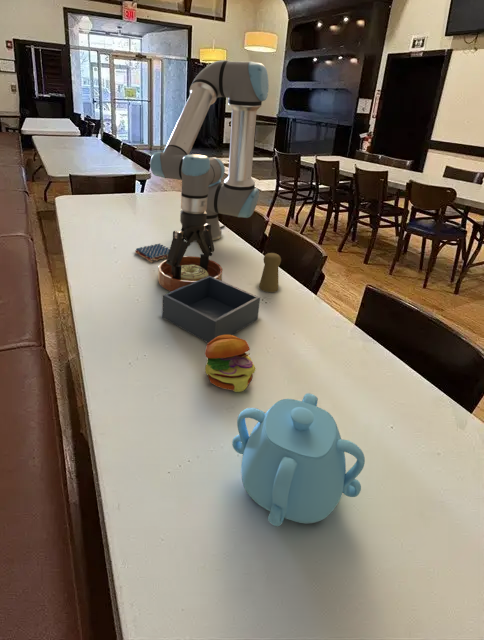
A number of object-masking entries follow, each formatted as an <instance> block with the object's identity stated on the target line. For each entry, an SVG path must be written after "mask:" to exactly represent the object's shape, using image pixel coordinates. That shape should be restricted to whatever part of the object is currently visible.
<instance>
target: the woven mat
mask: <svg viewBox="0 0 484 640" xmlns="http://www.w3.org/2000/svg"><path fill="white" fill-rule="evenodd" d="M169 250H170V248H169V247H166V246H165V245H164V244H161V243H155V244H151V245H144V246H143V247H142V246H140V247H137V248H135V250H134V252H135V254H137V255H139V256H140V257H142V259H145V260H147V261H148V262H150V263H151V264H152V263H153V261H156V262H159V260H163V259H164V260H167V257H168V253H169Z"/></svg>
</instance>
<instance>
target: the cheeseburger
mask: <svg viewBox="0 0 484 640" xmlns="http://www.w3.org/2000/svg"><path fill="white" fill-rule="evenodd" d="M205 346H206V347H205V351H204V355H205V358H207V359H206V360H207V363H206V364H205V368H204V371H205V374H206V375H207V377H208V380H209V383H211V384H212V385H215V386H216V387H218V388H220V389H225V390H229V391H233V392H235V393H242V392H244V391H245V390H246V389H247V388H248V386H249V385H250V383H251V382H252V381H253V376H254V373H255V372H256V370H257V369H256V366H255V364H254V362H253V360H252V358H251V357H250V355H251V353H247V352H249V351H250V350H251V348H250V346H249V343H248V342H247V340H246V339H243V338H240V337H238V336H236V335H234V334H233V335H220V336H217V337H216V338H214V339H213V340H211V341H210V342H209V343H207V344H206V345H205Z"/></svg>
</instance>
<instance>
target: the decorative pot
mask: <svg viewBox="0 0 484 640" xmlns="http://www.w3.org/2000/svg"><path fill="white" fill-rule="evenodd" d="M318 400H319V398H318V396H317V395H315V394H313V393H309V392H307V393H305V394H304V395H303V397H302V400H298V399H293V398H283V399H280V400H278V401H276V402H275V403H274V404H273V405H272V406H271V407H270V408H269V409H268V410H267V411H266V412H264V411H263V410H261V409H259V408H256V407H247V408H244V409H243V410H242V411H240V413H239V414H238V416H237V421H236V425H237V432H238V434H236V435H235V436H234V437H233V439H232V441H231V442H232V443H231V444H232V448H233V449H234V451H235V452H236V453H238V454H239V455H242V459H241V467H240V468H241V469H240V475H241V480H242V485H243V487H244V489H245V491H246V493H247V494H248V496H249V497H250V498H251V499H252V500H253V501H254V503H256V504H257V505H259V506H260V507H262V508H263V509H264V510H266V511H268V512H269V514H268V517H267V521H268V522H269V524H271V525H272V526H273V527H280V526H281V525H282V524H283V523H284V521H285V520H289V521H292V522H294V523H298V524H299V523H300V524H315V523H318V522H320V521H323V520H325V519H326V518H327V517H329V516H330V515H331V514H332V513H333V511H334V510H335V509H336V508H337V506H338V505H339V502H340V501H341V498H342V496H343V495H344V496H346V497H349V498H355V497H358V496H359V495H360V493H361V492H362V485H361V483H360V481H359V480H358V479H357V477H358V476H360V474H361V472H362V471H363V469H364V467H365V462H366V459H365V454H364V452H363V450H362V449H361V448H360V446H358V444H356V443H355V442H352V441H351V440H348V439H344V438H343V439H342V436H341V434H340V430H339V427H338V425H337V422H336V420H335V418H334V417H333V416H332V414H331V413H330V412H329V411H327V410H325V409H324V408H321V407H319V406H318ZM246 419H252V420H254V421H257V422H256V424H255V425H254V427H253V429H252V430H251V433H250V434H249V431H248V427H247V423H246ZM345 453H347V454H349V455H351V456H352V457H354V458H355V459H356V461H355V463H354V464H353V465H352V467H350V468H349V469H348V471H347V468H346V467H347V465H346V455H345Z"/></svg>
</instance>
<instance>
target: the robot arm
mask: <svg viewBox="0 0 484 640" xmlns="http://www.w3.org/2000/svg"><path fill="white" fill-rule="evenodd" d="M269 87H270V85H269V74H268V71H267V68H266V66H265V65H264V64H263V63H261V62H257V61H256V62H255V61H243V60H241V61H240V60H239V61H238V60H224V59H222V60H221V59H220V60H216V61H213V62H211V63H210V64H208V65H207V66H205V67H204V68H203V69H202V70H200V71H199V72H198V74H197V75H196V76H195V78H194V79H193V80H192V83H191V84H190V87H189V96H188V98H187V101H186V102H185V105H184V106H183V109H182V111H181V113H180V116H179V118H178V120H177V122H176V124H175V126H174V129H173V131H172V133H171V135H170V137H169V138H168V139H169V140H168V141H167V144H166V146H165V148H164V149H163V151H155V152H154V153H153V154H152V156H151V158H150V162H149V163H150V164H149V166H150V167H149V168H150V171H151V173H152V175H154V176H155V177H159V178H164V179H172V180H178V181H181V192H180V193H181V194H180V209H181V210H180V215H179V216H180V218H179V222H180V224H181V229H180V230H173V231H172V240H171V244H170V247H169V249H170V250H169V253H168V257H166V259H165V260H166V264H168V265H171V266H172V270H171V274H172V276H173V278H175V279H179V280H181V266H180V262H181V260H182V258H183V256H185V254H186V252H187V250H188V247H190V245H192V244H193V243H194V242H196V243H197V245H198V247H199V250H201V253H200V255H199V257H200V267H202V268H204V269H205V270H206V271H207V270H208V263H209V259H210V257H213V253H214V252H215V245H214V241H218V240H220V239H221V238H222V229H223V228H225V227H226V225H222V226H221V225H220V221H219V214H220V215H225V216H226V215H227V216H232V217H237V218H245V219H248V218H251V216H253V214H254V212H255V210H256V208H257V205H258V201H259V197H260V190H259V188H257V187H255V186H256V182H255V180H254V179H253V178H252V171H253V162H254V161H253V160H254V149H255V137H256V136H255V135H256V124H257V123H256V122H257V112H258V110H259V109H260V108H261V107H262V105H263V104H262V103H263V102H265V101H267V99H268V95H269V94H268V93H269ZM218 98H225V99H226V98H227V105H228V106H229V108H231V123H230V137H229V139H230V142H229V155H228V156H229V157H228V174H227V175H228V176H227V177H226V178H225V179H224V180H223V182H222V178H223V177H224V176H225V171H226V170H225V164H224V162H223V161H222V160H221V159H219V158H218V157H215V156H214V157H213V156H212V157H211V156H208V155H204V154H196V153H195V154H193V153H192V154H190V153H191V151H192V149H193V146H194V144H195V141H196V139H197V138H198V135H199V132H200V130H201V129H202V128H201V127H202V126H203V123H204V121H205V118H206V116H207V114H208V112H209V109H210V107H211V105H214V103H216V101H217V99H218ZM176 261H177V262H176Z"/></svg>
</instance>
